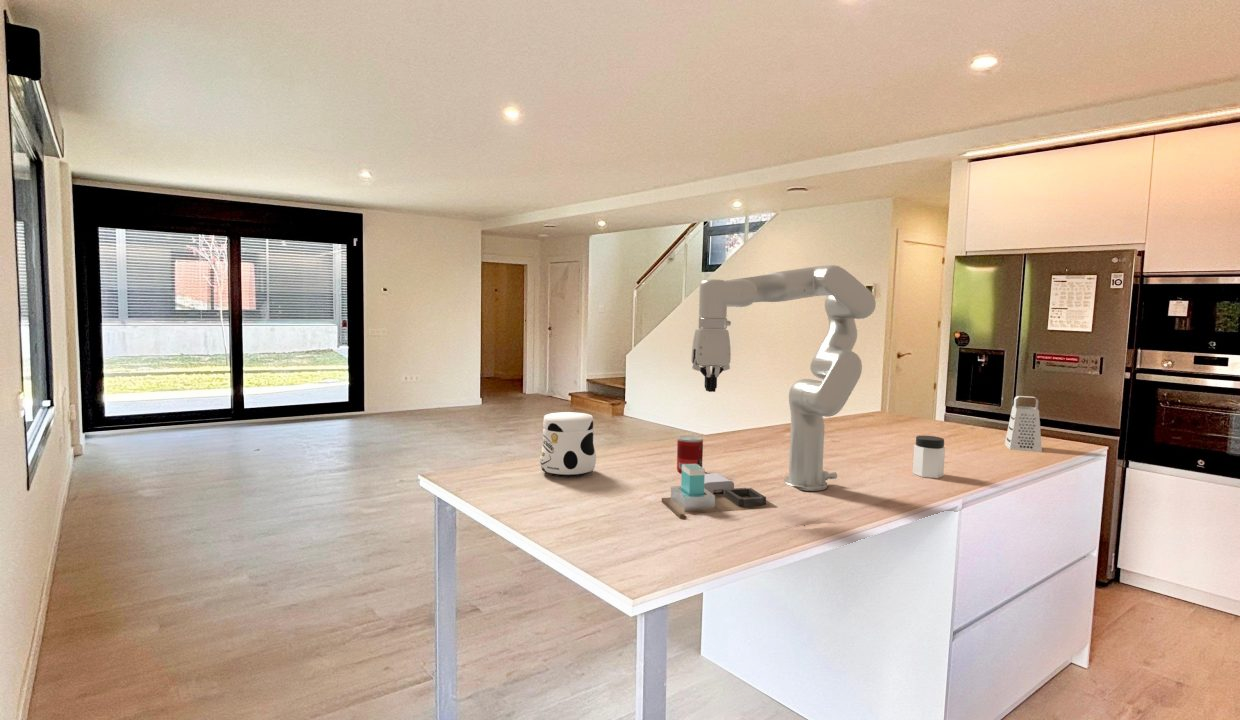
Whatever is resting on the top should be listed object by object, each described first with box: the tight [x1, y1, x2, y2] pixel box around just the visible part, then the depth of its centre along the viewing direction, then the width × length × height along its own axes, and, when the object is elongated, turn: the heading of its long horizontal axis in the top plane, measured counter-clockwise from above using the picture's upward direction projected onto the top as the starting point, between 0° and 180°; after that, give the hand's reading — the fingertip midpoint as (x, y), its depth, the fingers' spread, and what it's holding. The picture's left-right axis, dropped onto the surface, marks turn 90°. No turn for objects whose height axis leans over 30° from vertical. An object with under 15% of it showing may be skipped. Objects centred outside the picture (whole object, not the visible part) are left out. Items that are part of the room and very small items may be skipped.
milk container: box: [539, 411, 597, 478], centre depth 201 cm, size 17×17×18 cm
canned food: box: [676, 435, 704, 475], centre depth 205 cm, size 8×8×11 cm
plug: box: [680, 464, 706, 496], centre depth 168 cm, size 4×6×10 cm
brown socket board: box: [661, 487, 778, 519], centre depth 171 cm, size 27×14×3 cm, turn 105°
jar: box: [912, 435, 946, 479], centre depth 207 cm, size 9×8×12 cm
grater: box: [1004, 395, 1043, 453], centre depth 250 cm, size 10×10×20 cm
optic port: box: [670, 485, 716, 512], centre depth 169 cm, size 8×10×4 cm
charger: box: [704, 472, 735, 495], centre depth 185 cm, size 5×9×15 cm
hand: (710, 391), depth 179 cm, fingers closed
